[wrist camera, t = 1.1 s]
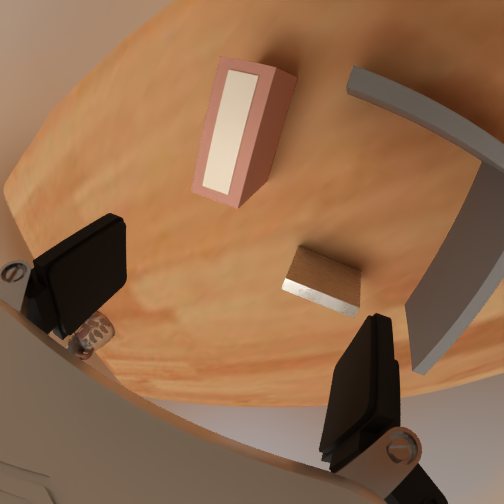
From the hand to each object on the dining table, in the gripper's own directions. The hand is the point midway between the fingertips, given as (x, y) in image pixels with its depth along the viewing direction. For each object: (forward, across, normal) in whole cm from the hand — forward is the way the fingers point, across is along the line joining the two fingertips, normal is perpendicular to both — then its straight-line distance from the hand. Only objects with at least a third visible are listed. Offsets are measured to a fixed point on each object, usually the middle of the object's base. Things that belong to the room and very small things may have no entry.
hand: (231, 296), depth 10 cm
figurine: (+24, +32, +44) cm, 59 cm away
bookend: (+23, -5, +13) cm, 27 cm away
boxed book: (+23, +6, -3) cm, 24 cm away
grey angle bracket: (+23, -10, +1) cm, 25 cm away
